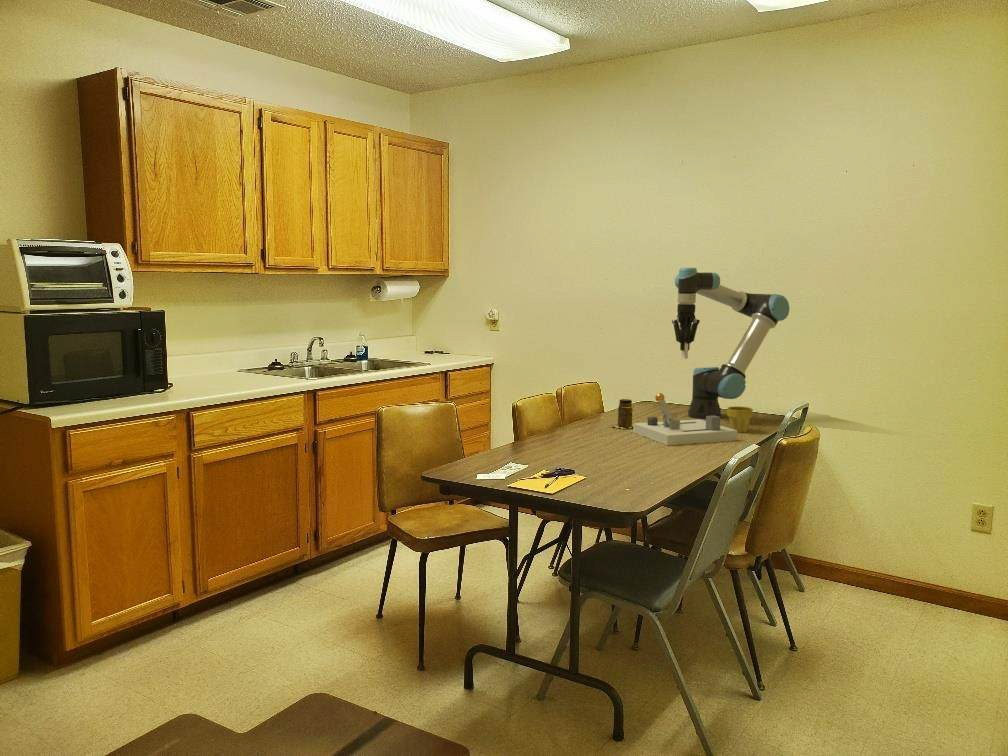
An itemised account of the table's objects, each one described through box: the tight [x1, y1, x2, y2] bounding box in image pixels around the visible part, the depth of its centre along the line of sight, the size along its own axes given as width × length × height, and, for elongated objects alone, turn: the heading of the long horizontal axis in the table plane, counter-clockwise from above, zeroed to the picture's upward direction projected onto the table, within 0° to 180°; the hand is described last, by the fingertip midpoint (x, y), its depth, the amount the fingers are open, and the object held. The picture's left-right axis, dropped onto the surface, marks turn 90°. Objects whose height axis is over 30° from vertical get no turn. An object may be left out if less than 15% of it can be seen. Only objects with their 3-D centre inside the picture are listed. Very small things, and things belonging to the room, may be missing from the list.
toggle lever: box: [654, 392, 673, 425], centre depth 309 cm, size 4×4×14 cm
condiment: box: [617, 398, 634, 428], centre depth 331 cm, size 7×8×12 cm
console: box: [632, 416, 738, 446], centre depth 313 cm, size 32×26×8 cm
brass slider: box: [662, 410, 678, 423], centre depth 318 cm, size 4×4×5 cm
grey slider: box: [705, 415, 722, 430], centre depth 308 cm, size 4×4×5 cm
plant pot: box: [726, 406, 754, 433], centre depth 326 cm, size 10×10×10 cm
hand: (684, 358), depth 336 cm, fingers closed
